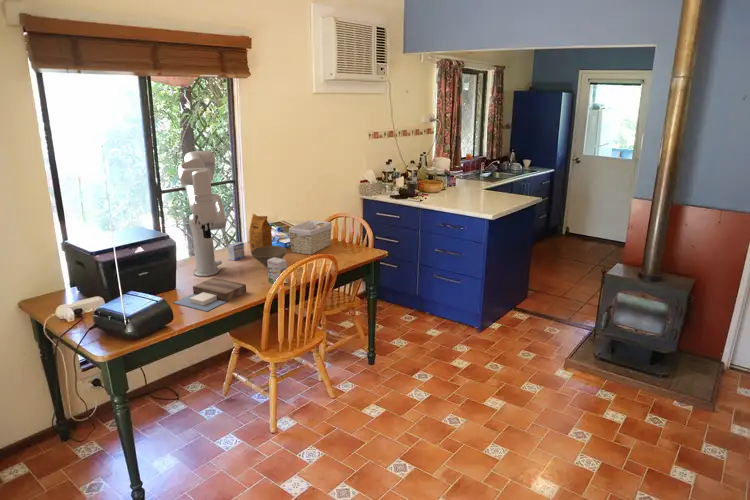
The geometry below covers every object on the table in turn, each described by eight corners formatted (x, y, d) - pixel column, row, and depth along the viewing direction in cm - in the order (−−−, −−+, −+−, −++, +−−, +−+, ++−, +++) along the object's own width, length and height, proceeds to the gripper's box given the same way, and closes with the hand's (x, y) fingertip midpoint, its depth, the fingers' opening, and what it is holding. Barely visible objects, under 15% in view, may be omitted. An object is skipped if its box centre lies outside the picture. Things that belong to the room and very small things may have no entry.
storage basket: (311, 242, 320) (310, 218, 316) (333, 245, 313) (333, 221, 309) (288, 252, 300) (286, 227, 295) (312, 256, 293) (311, 231, 289)
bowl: (269, 272, 267) (268, 257, 265) (244, 266, 277) (243, 251, 274) (294, 262, 282) (293, 248, 279) (269, 257, 291) (268, 243, 289)
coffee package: (260, 248, 309) (258, 211, 302) (275, 251, 301) (272, 214, 295) (247, 252, 301) (244, 215, 295) (261, 256, 294) (259, 218, 287)
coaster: (204, 296, 236) (203, 292, 235) (216, 299, 232) (216, 295, 231) (190, 302, 229) (189, 298, 228) (203, 305, 225) (202, 301, 225)
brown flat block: (214, 285, 250) (213, 277, 248) (246, 292, 241) (245, 284, 240) (193, 294, 239) (192, 286, 237) (226, 302, 230) (225, 293, 229)
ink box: (268, 282, 253) (266, 259, 250) (275, 279, 257) (273, 256, 254) (280, 285, 249) (279, 262, 245) (288, 282, 253) (286, 259, 249)
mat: (193, 294, 238) (193, 293, 238) (226, 302, 230) (226, 301, 229) (173, 303, 229) (173, 302, 229) (207, 311, 220) (207, 310, 220)
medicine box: (234, 261, 285) (233, 246, 283) (228, 259, 287) (227, 244, 285) (245, 257, 292) (243, 242, 289) (239, 256, 294) (238, 241, 291)
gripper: (209, 194, 240) (213, 233, 246) (184, 200, 228) (189, 241, 233) (221, 196, 237) (225, 235, 242) (196, 202, 224) (201, 243, 230)
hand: (207, 237), depth 238 cm, fingers closed
